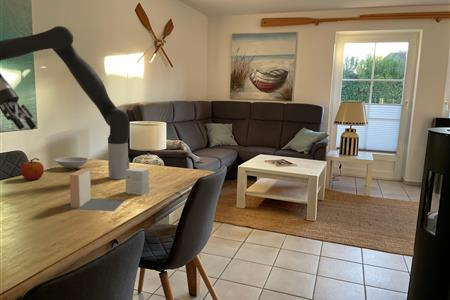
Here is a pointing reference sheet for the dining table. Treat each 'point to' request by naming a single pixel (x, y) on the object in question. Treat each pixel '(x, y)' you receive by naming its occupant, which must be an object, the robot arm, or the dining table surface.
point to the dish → (72, 161)
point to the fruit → (32, 170)
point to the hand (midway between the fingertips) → (28, 128)
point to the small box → (137, 181)
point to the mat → (99, 205)
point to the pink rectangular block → (80, 188)
